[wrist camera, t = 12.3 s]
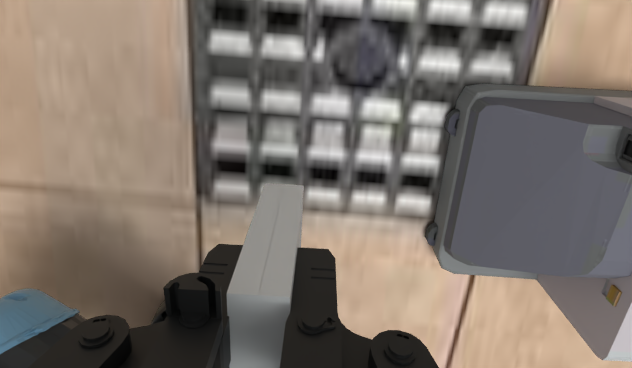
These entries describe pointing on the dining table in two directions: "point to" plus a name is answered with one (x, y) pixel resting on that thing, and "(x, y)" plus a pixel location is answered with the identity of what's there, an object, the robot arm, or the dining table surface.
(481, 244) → the instant camera
